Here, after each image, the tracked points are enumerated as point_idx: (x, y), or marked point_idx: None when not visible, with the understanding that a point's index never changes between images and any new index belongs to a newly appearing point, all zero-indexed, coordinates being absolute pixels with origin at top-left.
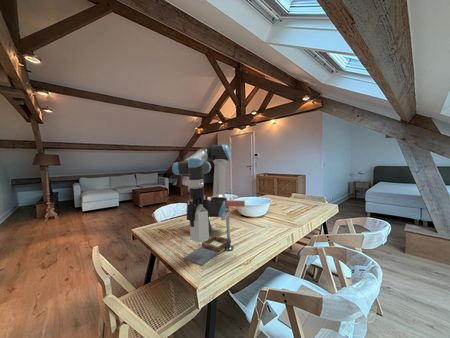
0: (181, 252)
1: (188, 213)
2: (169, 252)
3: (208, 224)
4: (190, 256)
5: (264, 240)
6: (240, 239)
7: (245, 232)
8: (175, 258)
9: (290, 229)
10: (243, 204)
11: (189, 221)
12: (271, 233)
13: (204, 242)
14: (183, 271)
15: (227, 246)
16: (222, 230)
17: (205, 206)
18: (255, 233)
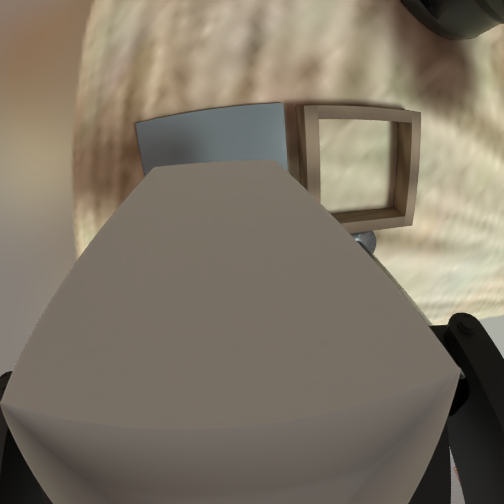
0: (172, 52)
1: (2, 477)
2: (131, 6)
3: (476, 28)
4: (167, 145)
5: (444, 300)
6: (439, 228)
7: (488, 207)
8: (110, 88)
9: (500, 306)
10: (458, 476)
11: (87, 249)
12: (484, 285)
13: (320, 114)
14: (85, 222)
15: (361, 234)
16: (481, 95)
17: (471, 460)
18: (484, 245)
